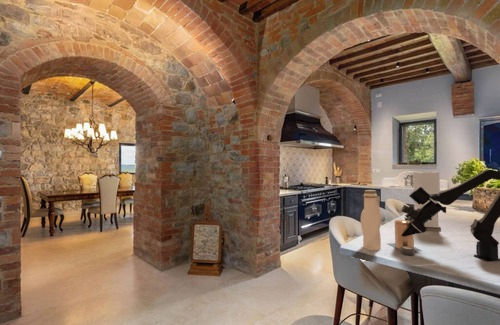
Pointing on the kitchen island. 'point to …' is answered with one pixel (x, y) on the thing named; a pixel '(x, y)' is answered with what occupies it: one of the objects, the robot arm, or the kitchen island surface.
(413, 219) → the robot arm
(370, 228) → the water bottle
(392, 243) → the slate mat
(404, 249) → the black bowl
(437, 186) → the tall white column
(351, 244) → the kitchen island surface
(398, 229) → the brown tapered cup
